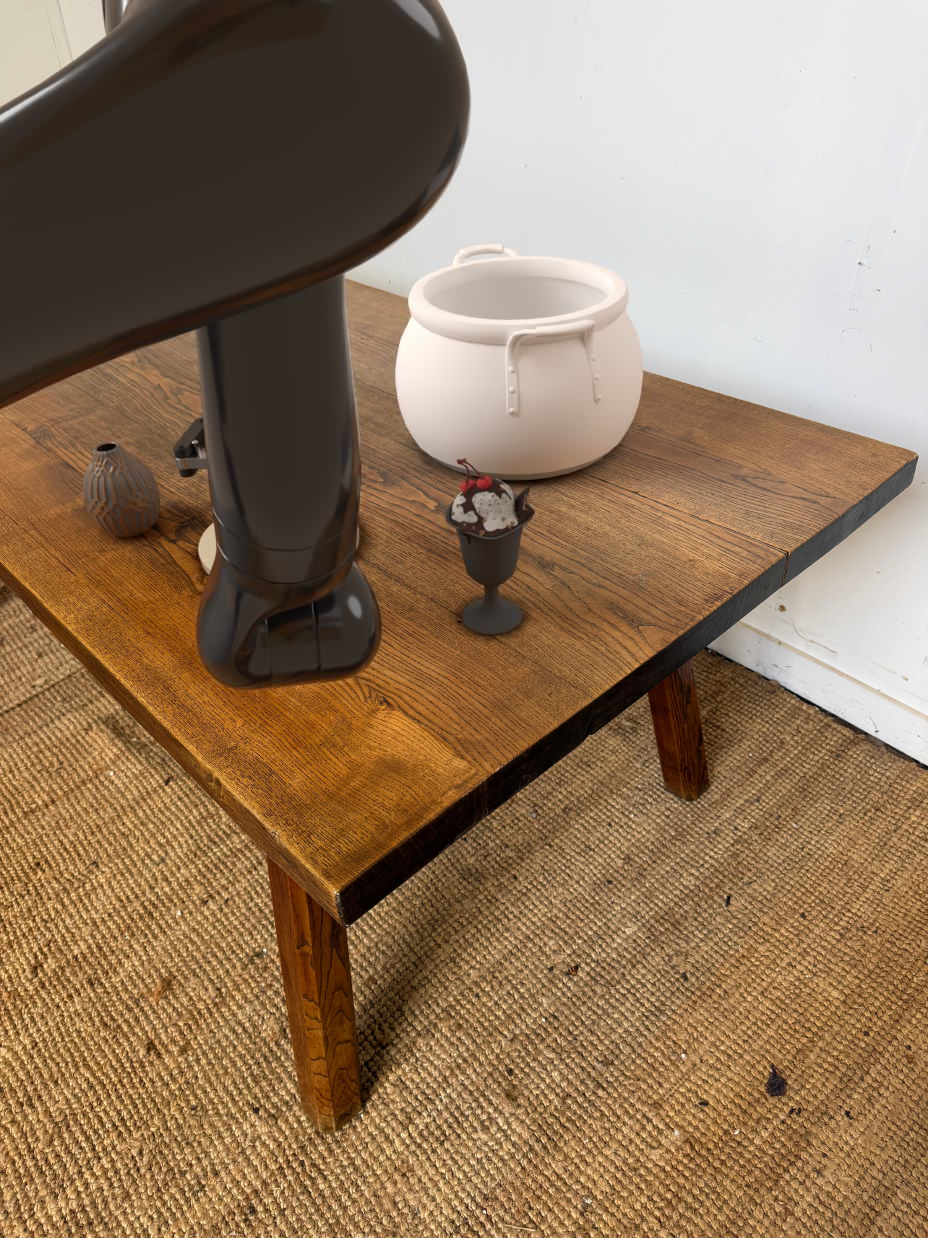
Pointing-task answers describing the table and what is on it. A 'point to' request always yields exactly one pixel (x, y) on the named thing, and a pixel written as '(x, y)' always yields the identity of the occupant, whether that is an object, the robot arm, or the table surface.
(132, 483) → the vase
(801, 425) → the table surface
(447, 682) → the table surface
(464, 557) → the sundae
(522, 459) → the pot
